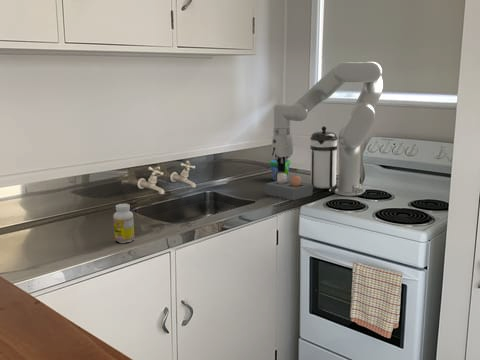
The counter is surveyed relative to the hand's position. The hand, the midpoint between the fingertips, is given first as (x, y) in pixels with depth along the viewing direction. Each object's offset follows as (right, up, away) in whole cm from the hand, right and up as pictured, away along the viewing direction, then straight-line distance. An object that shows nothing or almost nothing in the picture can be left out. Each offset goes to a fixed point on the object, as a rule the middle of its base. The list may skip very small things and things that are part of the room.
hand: (281, 171), depth 250 cm
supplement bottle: (-59, -25, -63) cm, 90 cm away
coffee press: (+21, -8, +11) cm, 25 cm away
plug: (0, -6, +1) cm, 6 cm away
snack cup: (+2, -4, +31) cm, 31 cm away
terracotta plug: (+6, -7, -5) cm, 11 cm away
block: (+3, -11, -1) cm, 11 cm away
